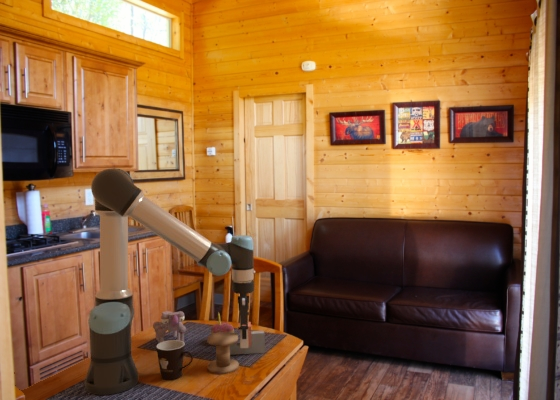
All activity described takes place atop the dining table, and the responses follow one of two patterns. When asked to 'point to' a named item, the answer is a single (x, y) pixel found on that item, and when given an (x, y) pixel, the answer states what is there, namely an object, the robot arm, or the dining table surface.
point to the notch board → (256, 344)
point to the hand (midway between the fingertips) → (244, 340)
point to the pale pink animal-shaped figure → (170, 325)
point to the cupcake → (221, 327)
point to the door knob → (222, 353)
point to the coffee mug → (171, 359)
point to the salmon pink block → (249, 333)
